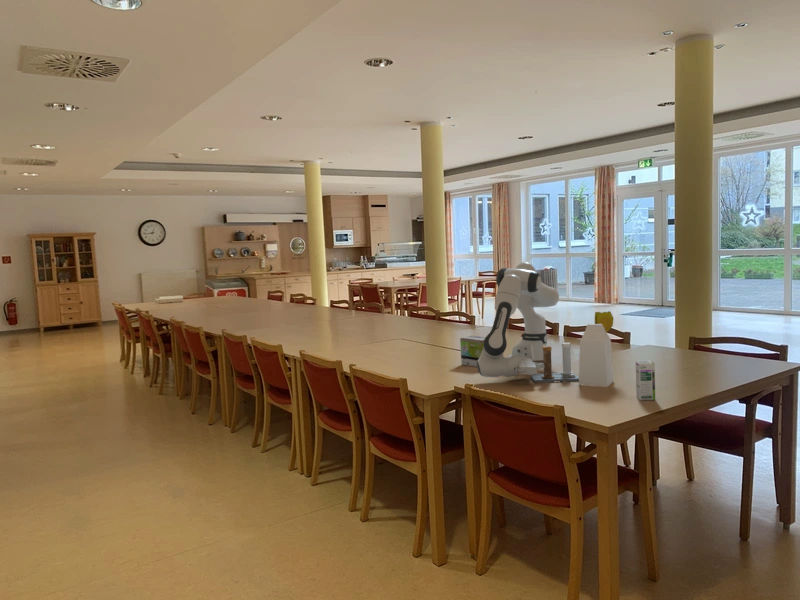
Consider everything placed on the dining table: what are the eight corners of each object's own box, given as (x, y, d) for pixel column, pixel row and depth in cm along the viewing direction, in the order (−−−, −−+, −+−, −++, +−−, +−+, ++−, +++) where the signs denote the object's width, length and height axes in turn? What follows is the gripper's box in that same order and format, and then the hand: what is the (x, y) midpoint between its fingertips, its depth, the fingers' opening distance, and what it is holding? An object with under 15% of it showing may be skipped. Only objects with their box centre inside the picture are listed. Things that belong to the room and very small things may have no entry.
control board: (534, 382, 262) (534, 377, 262) (530, 376, 275) (529, 371, 275) (579, 381, 261) (579, 375, 261) (573, 374, 274) (573, 369, 273)
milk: (613, 381, 257) (612, 322, 255) (607, 387, 248) (605, 326, 246) (586, 379, 264) (584, 322, 262) (578, 384, 254) (577, 325, 252)
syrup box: (639, 400, 225) (639, 363, 223) (636, 396, 230) (635, 360, 229) (655, 400, 224) (654, 362, 223) (651, 396, 230) (650, 359, 228)
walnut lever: (543, 378, 263) (542, 347, 262) (541, 376, 267) (540, 346, 266) (554, 378, 263) (553, 347, 262) (552, 376, 267) (551, 345, 266)
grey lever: (562, 374, 269) (561, 344, 268) (560, 372, 273) (559, 342, 272) (573, 374, 269) (572, 343, 267) (571, 372, 273) (570, 342, 271)
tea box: (460, 365, 311) (459, 337, 310) (473, 361, 318) (472, 335, 317) (482, 368, 300) (481, 339, 299) (494, 365, 307) (493, 337, 305)
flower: (615, 378, 263) (614, 311, 261) (596, 378, 265) (595, 312, 262) (613, 373, 271) (612, 309, 269) (595, 373, 273) (593, 310, 271)
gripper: (515, 364, 255) (547, 363, 254) (510, 355, 276) (540, 354, 275) (516, 378, 256) (548, 377, 255) (511, 369, 276) (540, 367, 275)
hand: (544, 365), depth 265 cm, fingers closed, pressing on walnut lever
